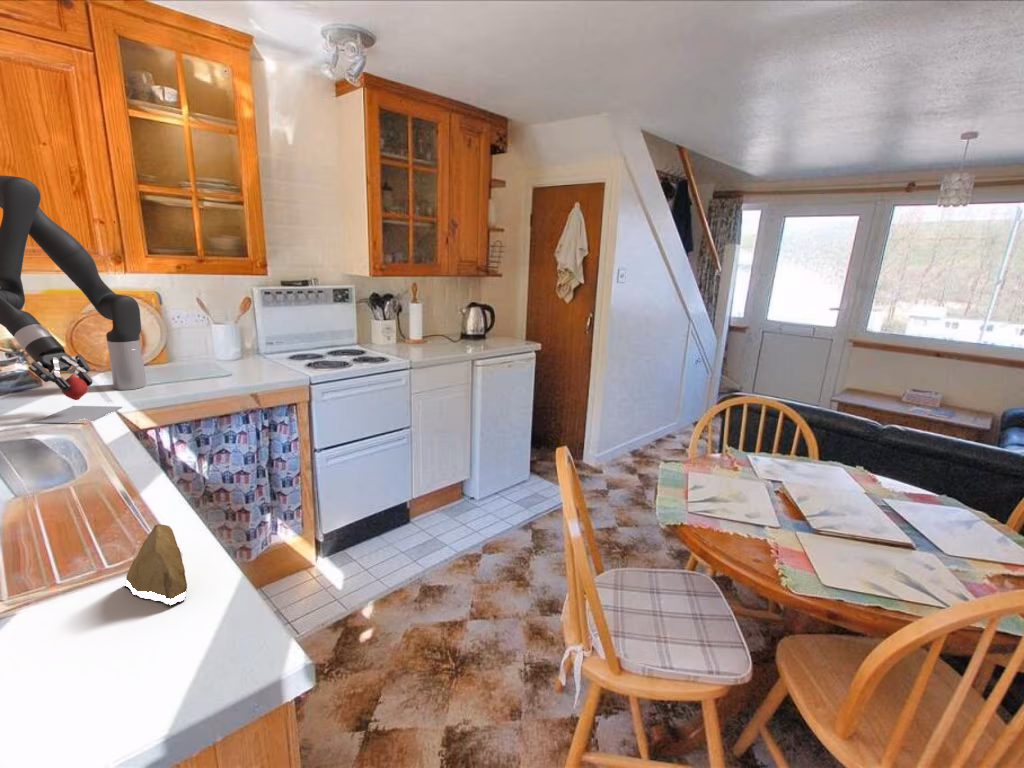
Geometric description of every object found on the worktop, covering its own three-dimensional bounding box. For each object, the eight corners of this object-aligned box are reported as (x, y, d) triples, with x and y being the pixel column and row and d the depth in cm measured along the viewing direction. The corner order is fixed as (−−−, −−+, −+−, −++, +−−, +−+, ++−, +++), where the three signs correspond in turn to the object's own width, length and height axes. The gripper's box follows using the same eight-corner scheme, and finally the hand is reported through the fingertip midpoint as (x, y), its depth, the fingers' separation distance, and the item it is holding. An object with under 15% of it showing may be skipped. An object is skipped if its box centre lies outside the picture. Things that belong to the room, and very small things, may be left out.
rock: (207, 585, 75) (203, 545, 83) (160, 559, 70) (161, 518, 78) (142, 639, 73) (144, 592, 80) (89, 615, 68) (96, 568, 75)
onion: (74, 403, 145) (70, 377, 143) (58, 401, 146) (53, 374, 144) (94, 398, 150) (90, 373, 148) (78, 396, 151) (74, 371, 149)
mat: (73, 406, 156) (73, 405, 156) (122, 407, 158) (122, 406, 158) (32, 423, 141) (32, 422, 141) (86, 424, 143) (86, 422, 142)
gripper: (17, 338, 138) (60, 384, 139) (70, 332, 152) (109, 374, 153) (5, 355, 140) (47, 400, 141) (58, 348, 154) (96, 389, 155)
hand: (79, 386), depth 147 cm, fingers closed on onion, 6 cm apart
